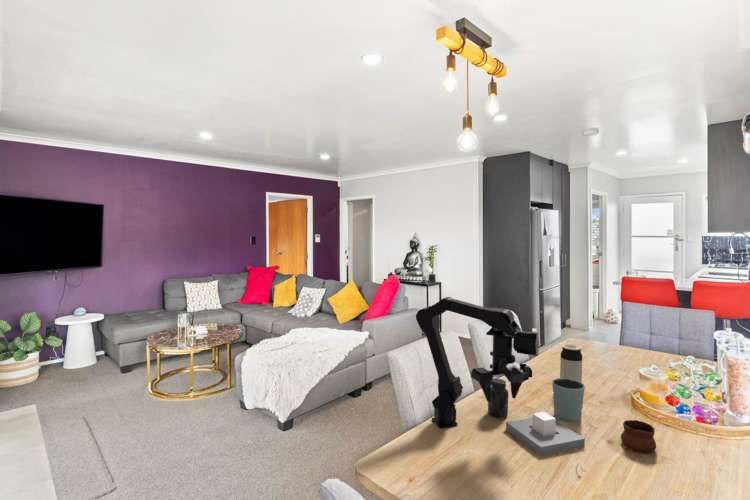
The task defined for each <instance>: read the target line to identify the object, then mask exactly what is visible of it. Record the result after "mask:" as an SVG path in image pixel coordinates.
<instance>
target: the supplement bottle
mask: <svg viewBox="0 0 750 500" xmlns="http://www.w3.org/2000/svg"><path fill="white" fill-rule="evenodd" d="M491 382H492V383H493V385H492V386H491V399H490V402H487V413H488V415H489V416H490V417H493V418H496V419H505V418H507V417H508V414H509V391H508V389H507V384H506V383H507V382H506V380H504V379H502V378H493V380H492V381H491Z"/></svg>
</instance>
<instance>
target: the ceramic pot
mask: <svg viewBox="0 0 750 500" xmlns="http://www.w3.org/2000/svg"><path fill="white" fill-rule="evenodd" d="M622 423H623V424H622V425H623V429H624V430H622V432H621V435H620V438H621V445H622V446H623V447H624V448H626V449H627V450H629V451H631V452H634V453H638V454H648V455H649V454H653V453H654V451H656V448H657V443H656V440H655V438H654V436H655V433H656V431H655V429H656V428H655V427H654V426H652V425H651V424H649V423H647V422H645V421H643V420H637V419H635V420H634V419H633V420H632V419H627V420H624V422H622ZM638 461H639V462H641V463H648V464H652V465H653V464H654V465H655V464H656V465H657V463H654V462H653V463H651V462H650V461H645V460H641V461H640V460H638ZM661 464H663V463H661Z"/></svg>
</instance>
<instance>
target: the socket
mask: <svg viewBox="0 0 750 500" xmlns="http://www.w3.org/2000/svg"><path fill="white" fill-rule="evenodd" d="M532 420H533V416H531V417H528V418H527V417H526V418H522V419H515V420H514V419H513V420H509V421H505V430H506V431H507V432H509V433H510V434H511V435H513V436H514V437H516V438H517V439H518V440H519V441H521V443H523V444H525V446H527V447H528V448H530V449H531V450H532V451H534V452H535V453H536V454H538V455H539V456H545V455H546V456H547V455H551V454H552V455H553V454H556V453H561V452H565V451H570V450H576V449H581V448H584V447H585V446H586V445H585V444H586V442H585V441H586V440H585V439H586V438H585V437H583V436H581V435H580V434H578V433H576V432H575V431H573V430H571V429H570V428H569V427H566V426H565V425H563V424H562V423H559V422H558V421H557V420H556V427H555V435H550V436H545V437H543V436H542V435H540V434H539V433H537V432H536V431H534V430H533V429H532Z"/></svg>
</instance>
